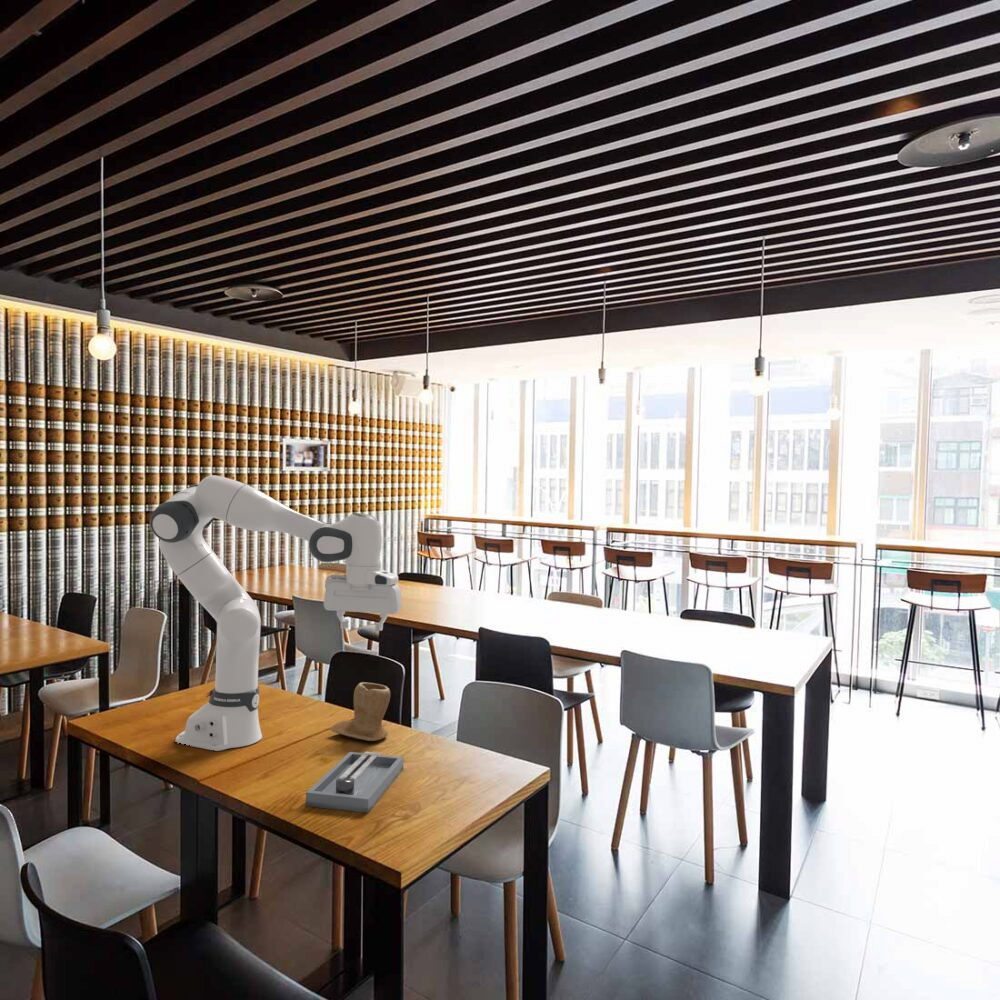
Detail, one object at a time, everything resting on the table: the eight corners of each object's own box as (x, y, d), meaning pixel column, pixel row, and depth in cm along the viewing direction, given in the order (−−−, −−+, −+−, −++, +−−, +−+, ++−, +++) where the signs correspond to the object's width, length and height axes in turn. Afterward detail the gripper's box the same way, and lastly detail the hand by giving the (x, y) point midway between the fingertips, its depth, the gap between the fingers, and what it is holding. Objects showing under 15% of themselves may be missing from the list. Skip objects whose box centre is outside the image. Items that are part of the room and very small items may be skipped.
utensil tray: (305, 806, 152) (306, 792, 152) (349, 763, 177) (349, 751, 177) (368, 813, 149) (368, 799, 149) (403, 768, 174) (403, 757, 174)
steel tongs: (332, 798, 154) (333, 783, 154) (364, 765, 173) (365, 751, 173) (349, 800, 153) (350, 784, 153) (380, 766, 173) (380, 752, 173)
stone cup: (397, 735, 199) (399, 683, 199) (371, 747, 188) (372, 692, 188) (357, 725, 206) (358, 675, 206) (329, 736, 196) (331, 684, 196)
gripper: (320, 575, 177) (318, 628, 177) (396, 579, 174) (395, 633, 174) (330, 572, 184) (328, 624, 184) (404, 576, 180) (402, 629, 180)
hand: (361, 629), depth 179 cm, fingers open, 8 cm apart
